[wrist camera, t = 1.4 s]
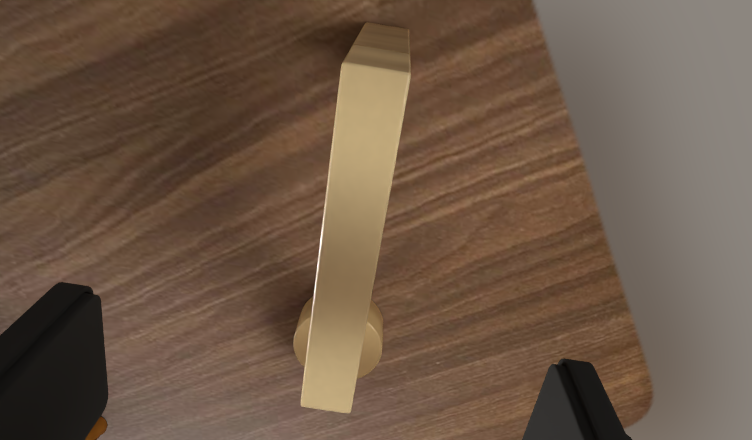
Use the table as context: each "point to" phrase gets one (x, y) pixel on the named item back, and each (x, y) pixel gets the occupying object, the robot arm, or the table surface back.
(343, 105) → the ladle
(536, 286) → the table surface
